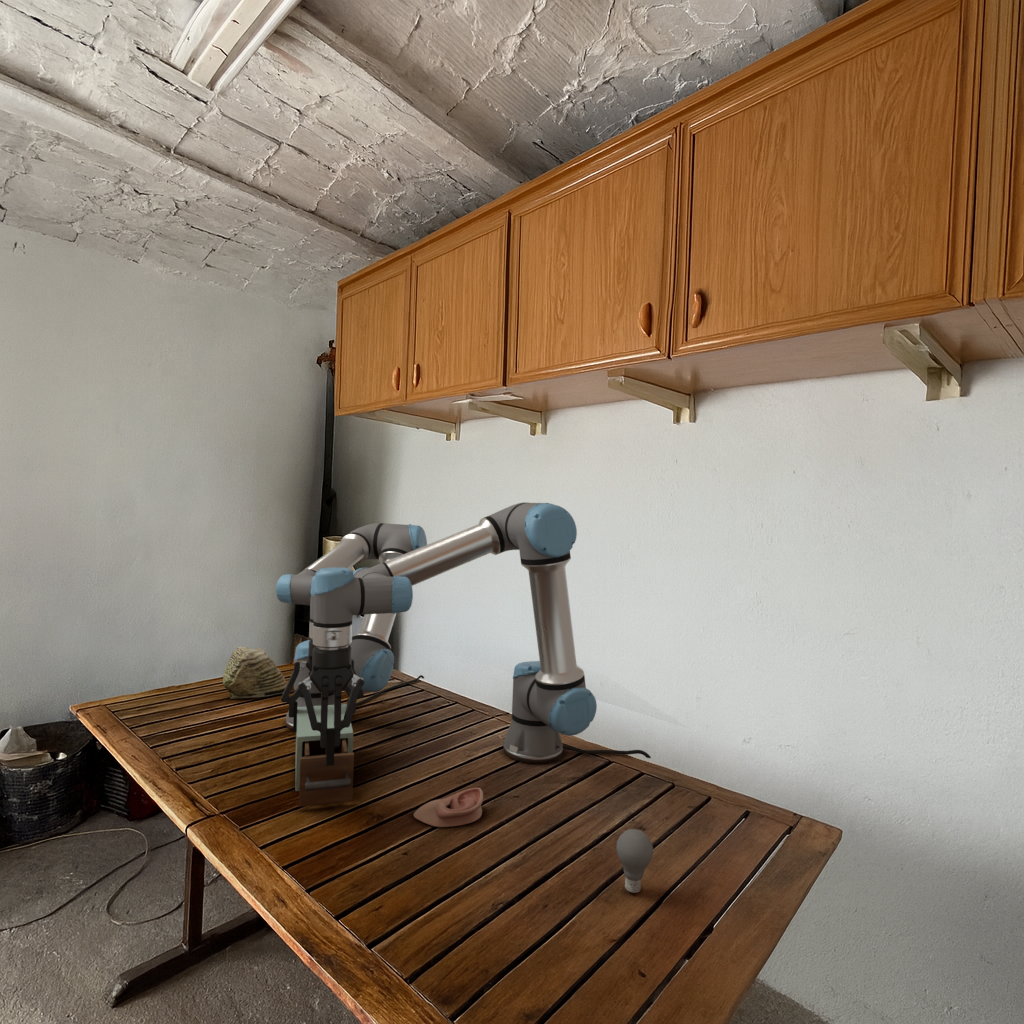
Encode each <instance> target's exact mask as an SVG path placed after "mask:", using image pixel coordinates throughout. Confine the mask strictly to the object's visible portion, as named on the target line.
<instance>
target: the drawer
mask: <svg viewBox="0 0 1024 1024" xmlns="http://www.w3.org/2000/svg"><path fill="white" fill-rule="evenodd" d="M354 764H355V753H354V752H351V753H348V749H347V744H346V739H345V738H341V739H340V746H339V747H334V765H330V766H326V748H321V746H320V740H316V741H304V753H303V757H300V783H299V791H298V807H299V808H301V807H302V808H303V807H311V806H319V805H328V804H329V805H330V804H336V803H346V802H353V800H354V799H353V798H354V797H353V792H354V771H355V768H354V766H355V765H354Z"/></svg>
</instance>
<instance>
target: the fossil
mask: <svg viewBox="0 0 1024 1024" xmlns="http://www.w3.org/2000/svg"><path fill="white" fill-rule="evenodd" d="M222 676H223V677H222V685H223V687H224V688H225V690H226V691H228V693H229V698H230V699H250V698H264V697H271V696H275V695H281V694H283V692H284V690H285V687H286V685H287V680H286V678H285V676H284V674H283V673H282V672H281V669H279V668H278V667H277V665H276V663H275V662H274V660H273V659H272V658H271V657H270V656H269V655H268V654H267V653H266V652H265V650H264V649H263V648H260V647H258V648H251V647H247V646H246V647H245V646H238V647H237V648H236V649H235V650H233V651H232V653H231V656H230V657H229V659H228V660H227V663H226V666H225V668H224V671H223V675H222Z"/></svg>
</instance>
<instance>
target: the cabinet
mask: <svg viewBox="0 0 1024 1024" xmlns="http://www.w3.org/2000/svg"><path fill="white" fill-rule="evenodd" d="M346 708H347V703H341V720H343V719H344V715H345V711H346ZM314 710H315V715H316V719H317V722H320V723H321V706H314ZM327 728H334V705H328V719H327ZM341 738H345V739H346V744H347V749H348V753H351V752H353V751H354V730H353V726H352V722H351V723H350V726H349V727H348V728H343V729H342V730H341V732H340V739H341ZM316 740H320V732H319V731H317V730H315V731H314V730H312V728H311V724H310V720H309V716H308V712H307V708H306V706H305V707H297V732H295V753H294V754H295V758H294V759H295V761H294V763H295V765H294V766H295V777H294V779H295V785H294V786H295V789H294V790H295V792H299V783H300V757H303V753H304V741H316Z"/></svg>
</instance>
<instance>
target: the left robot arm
mask: <svg viewBox="0 0 1024 1024" xmlns="http://www.w3.org/2000/svg"><path fill="white" fill-rule="evenodd" d="M426 545H428V540H427V534H426V531H425V530H424V528H423V527H422V526H420V525H419V524H418V525H417V524H411V523H408V524H399V523H386V522H385V523H384V522H375V523H373V522H372V523H369V524H365V525H362V526H360V527H358V528H356V529H354V530H352V531H350V532H349V533H347V534H345V535H344V536H343V537H342V538H341V539H340V542H339V544H338V545H337V544H336V546H335V547H333V548H332V549H331V550H328V551H327V552H326V553H325V554H324V555H322V556H321V557H319V558H318V559H317V560H315V561H314V562H313V563H311V564H310V565H309V566H307V567H305V568H304V569H303V570H302V571H301V572H299V573H297V574H294V573H291V574H283V575H281V576H280V577H279V578H278V580H277V581H276V585H275V593H276V594H275V595H276V598H277V600H278V601H279V602H280V603H284V604H291V605H302V606H309V607H310V608H309V629H308V631H309V632H308V638H309V639H307V640H304V641H302V642H299V643H298V644H297V645H296V647H295V652H294V653H295V654H294V659H293V661H294V663H293V669H292V672H291V675H290V677H289V679H288V681H287V682H286V687H285V690H284V692H283V693H281V697H280V701H281V703H286V704H288V711H287V713H286V715H285V726H286V728H287V729H289V730H291V731H292V732H293V733H296V732H297V707H305V706H306V703H305V699H304V695H303V694H302V693H301V691H300V690H299V688H298V683H299V681H301V680H302V681H303V680H305V679H306V678H308V677H309V674H310V672H311V670H312V656H313V648H314V647H315V645H313V616H314V593H313V591H314V584H315V574H316V572H317V571H318V570H320V569H322V568H331V567H337V568H349V569H352V568H353V566H354V565H356V564H361V563H363V562H364V561H367V560H378V561H379V564H381V563H384V562H386V561H388V560H391V559H393V558H396V557H398V556H401V555H403V554H406V553H408V552H411V551H413V550H416V549H418V548H421V547H423V546H426ZM396 616H397V613H395V614H393V613H385V614H363V618H362V621H361V624H360V627H359V629H358V633H355V634H354V635H353V634H352V643H351V644H350V646H351V647H352V657H351V667H352V669H353V672H354V674H355V675H356V676H358V677H362V678H363V680H364V685H363V686H362V688H361V689H360V691H359V693H358V697H357V700H358V699H362V698H364V696H365V694H364V693H374V694H373V695H370V696H369V697H367V698H365V699H362V700H360V701H356V705H355V708H354V712H353V714H355V713H356V712H357V711H356V710H357V706H358V705H361V704H364V703H366V702H368V701H370V700H372V699H374V698H376V697H378V696H379V695H381V694H383V693H386V692H388V691H389V690H393V689H396V688H399V687H402V686H405V685H409V684H412V683H415V682H417V681H419V680H420V679H425V676H424V675H422V674H420V675H418V676H417V677H416V678H415V679H412V680H409V681H405V682H402V683H397V684H394V685H392V686H389V687H386V686H387V685H388V683H389V681H390V680H391V678H392V675H393V672H394V664H395V655H394V653H393V651H392V646H391V644H390V643H389V638H390V635H391V632H392V628H393V626H394V623H395V619H396ZM351 682H352V680H350V682H349V683H348V684H347V686H346V687H345V688H344V690H343V691H344V692H345V693H346V695H347V696H348V698H347V699H346V704H348V700H349V696H350V693H351V689H352V684H351ZM292 690H293V693H292V692H291V691H292ZM290 693H292V694H291V695H290ZM310 694H311V698H312V702H313V706H321V692H320V691H319V690H318V689H317V688H316V686H315V685H314V684H313V682H311V689H310ZM328 705H334V693H333V692H331V693H328Z"/></svg>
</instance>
